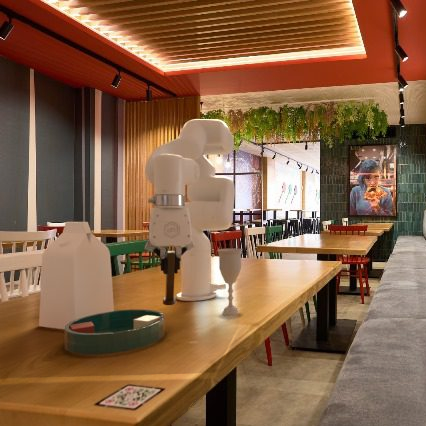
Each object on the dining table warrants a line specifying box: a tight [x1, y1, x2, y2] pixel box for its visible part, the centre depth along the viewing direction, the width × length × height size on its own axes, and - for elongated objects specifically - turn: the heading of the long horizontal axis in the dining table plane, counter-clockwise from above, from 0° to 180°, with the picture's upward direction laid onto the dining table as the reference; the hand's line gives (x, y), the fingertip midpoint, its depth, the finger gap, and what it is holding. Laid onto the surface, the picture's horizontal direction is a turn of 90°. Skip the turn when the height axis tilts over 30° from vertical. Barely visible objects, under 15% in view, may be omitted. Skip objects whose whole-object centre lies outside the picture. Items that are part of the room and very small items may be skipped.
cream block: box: [134, 315, 161, 329], centre depth 90 cm, size 4×4×4 cm
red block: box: [70, 322, 94, 333], centre depth 84 cm, size 4×4×4 cm
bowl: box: [63, 308, 166, 355], centre depth 88 cm, size 20×20×4 cm
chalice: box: [217, 248, 244, 317], centre depth 108 cm, size 7×7×18 cm
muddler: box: [162, 250, 177, 306], centre depth 104 cm, size 3×3×14 cm
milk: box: [38, 221, 115, 330], centre depth 101 cm, size 12×12×26 cm
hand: (170, 272), depth 103 cm, fingers closed on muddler
